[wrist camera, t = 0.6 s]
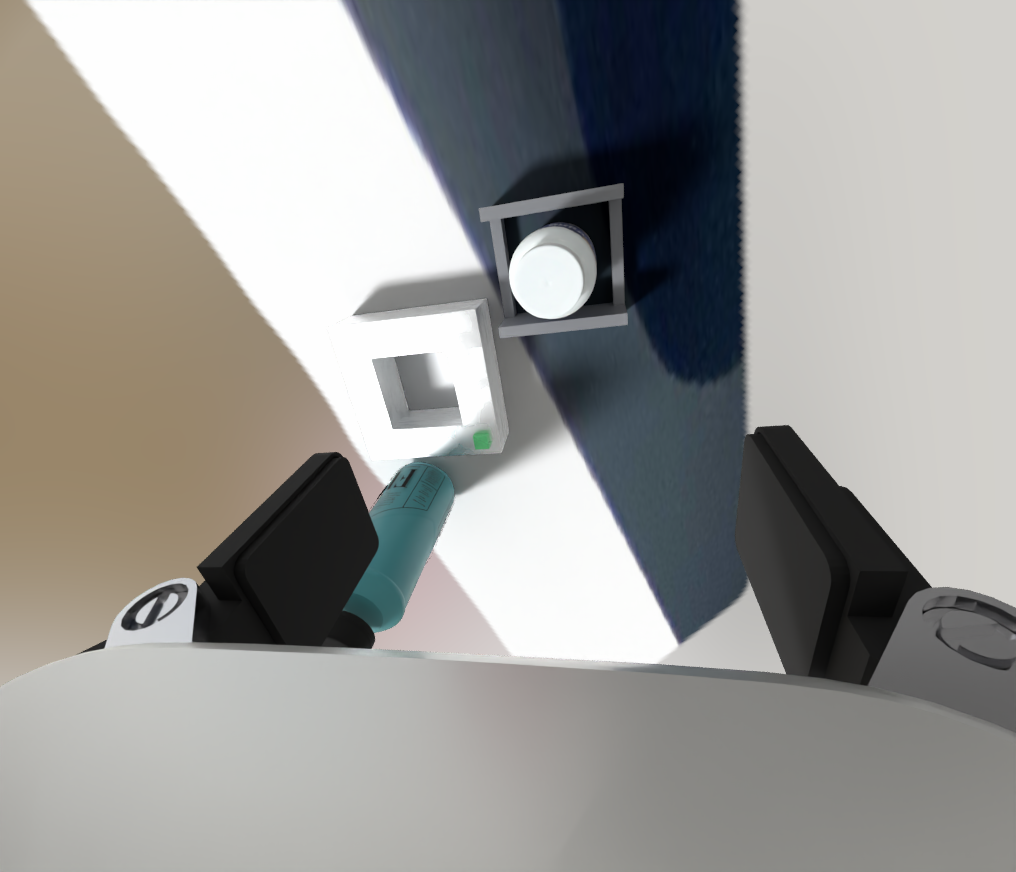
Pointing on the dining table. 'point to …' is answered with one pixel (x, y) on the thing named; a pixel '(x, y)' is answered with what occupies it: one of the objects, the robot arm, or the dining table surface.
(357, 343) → the port
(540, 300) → the pill bottle
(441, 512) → the beverage bottle
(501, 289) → the grey open frame
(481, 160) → the dining table surface
